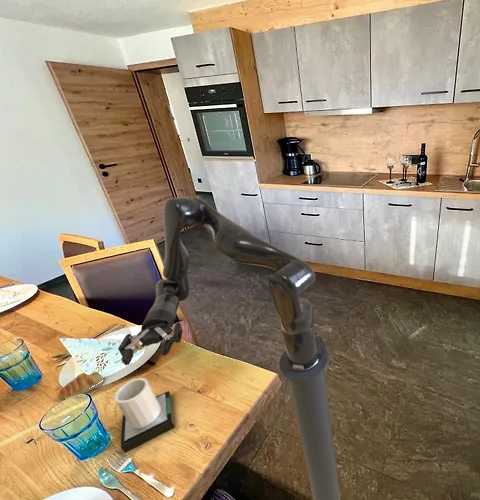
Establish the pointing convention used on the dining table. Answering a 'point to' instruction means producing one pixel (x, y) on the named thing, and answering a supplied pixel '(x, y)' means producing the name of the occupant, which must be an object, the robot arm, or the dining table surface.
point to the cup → (138, 402)
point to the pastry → (81, 385)
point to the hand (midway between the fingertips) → (144, 358)
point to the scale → (149, 425)
